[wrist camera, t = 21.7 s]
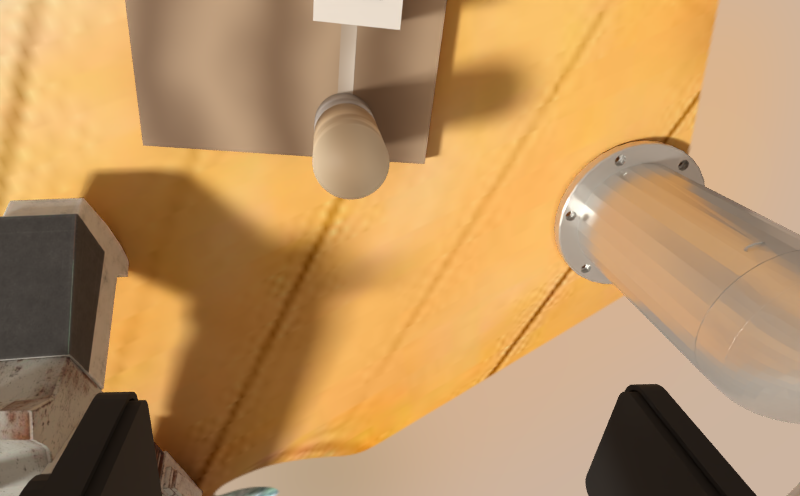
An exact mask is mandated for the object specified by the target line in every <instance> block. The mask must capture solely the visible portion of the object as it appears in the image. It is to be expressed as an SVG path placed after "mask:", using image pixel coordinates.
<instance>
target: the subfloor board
mask: <svg viewBox="0 0 800 496" xmlns="http://www.w3.org/2000/svg"><path fill="white" fill-rule="evenodd" d="M125 2H126V11H127V19H128V27H129V35H130V43H131V51H132V59H133V67H134V75H135V83H136V91H137V99H138V107H139V115H140V123H141V131H142V140H143V145H145V146H160V147H175V148H190V149H206V150H221V151H236V152H251V153H266V154H281V155H297V156H312V157H313V142H314V123H315V115H316V112H317V109H318V107H319V106H320V104H321V103H322V102H323V101H324V100H325V99H326V98H328V97H329V96H331V95H334V94H337V93H350V94H353V95H356V96H358V97H359V98H361V99H362V100H363V101H365V103H366V104H367V105H368V106H369V108H370V110H371V112H372V114H373V117H374V119H375V122H376V124H377V126H378V129H379V131H380V134H381V136H382V138H383V141H384V143H385V146H386V148H387V151H388V154H389V162H403V163H418V164H425V157H426V149H427V142H428V135H429V127H430V120H431V113H432V106H433V98H434V91H435V84H436V76H437V69H438V62H439V54H440V47H441V40H442V33H443V25H444V18H445V11H446V3H447V0H403V5H402V15H401V26H400V30H395V29H386V28H376V27H367V26H358V25H349V24H339V23H330V22H321V21H313V4H314V0H125Z"/></svg>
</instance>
